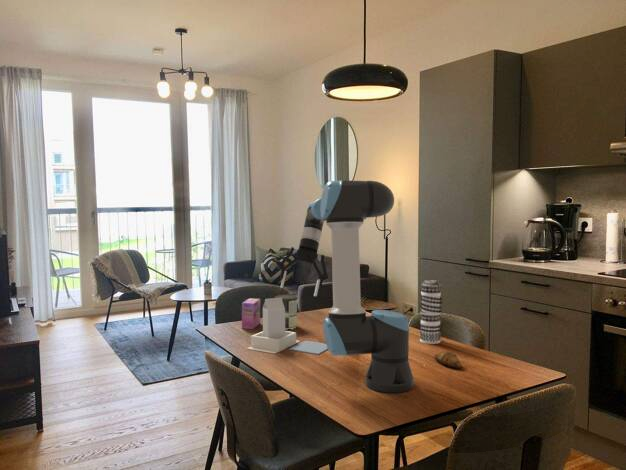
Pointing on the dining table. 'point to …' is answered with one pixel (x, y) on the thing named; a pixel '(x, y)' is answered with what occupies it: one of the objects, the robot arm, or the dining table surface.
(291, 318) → the coffee can
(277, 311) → the milk carton
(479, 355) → the dining table surface
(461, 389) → the dining table surface
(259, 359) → the dining table surface
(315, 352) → the mat
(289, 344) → the white tray
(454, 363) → the croissant
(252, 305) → the box
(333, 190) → the robot arm
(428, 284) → the round tower model
